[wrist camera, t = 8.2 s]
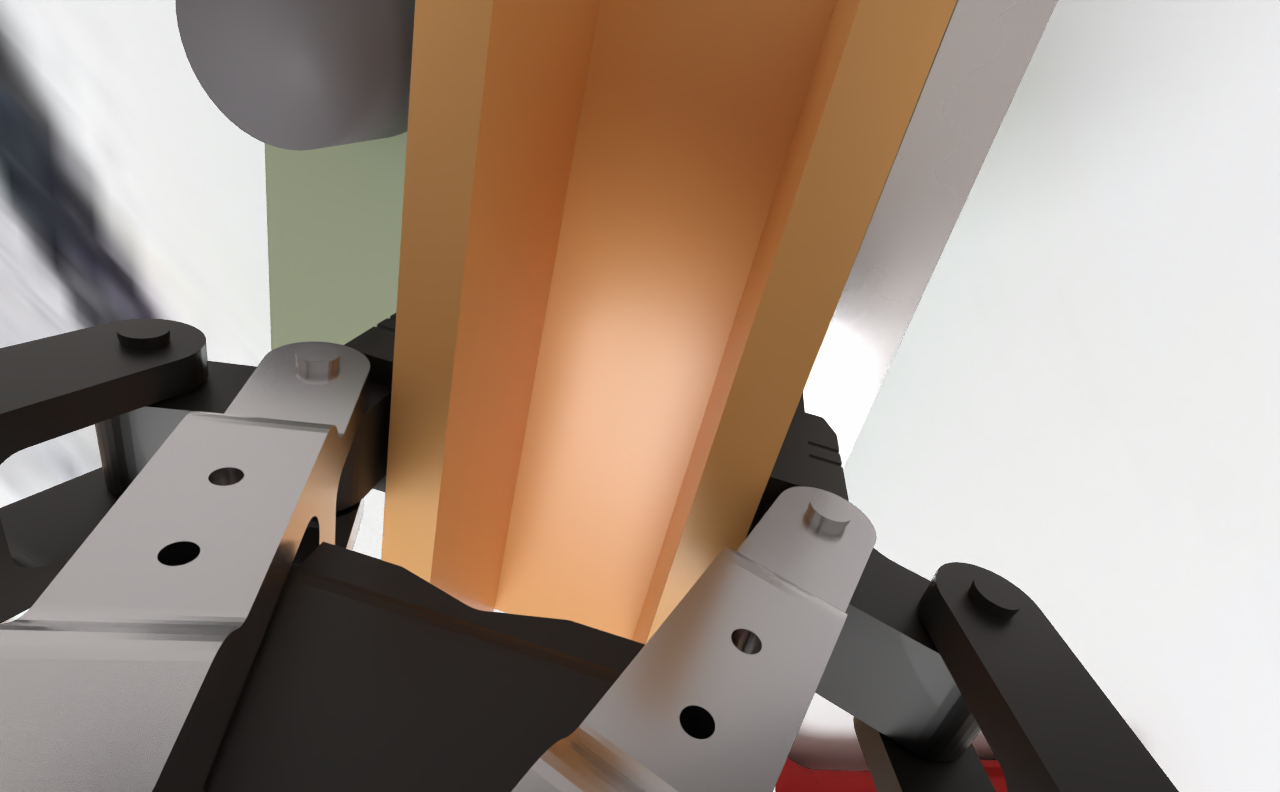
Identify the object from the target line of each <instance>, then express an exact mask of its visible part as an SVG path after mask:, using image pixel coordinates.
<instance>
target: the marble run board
mask: <svg viewBox="0 0 1280 792" xmlns="http://www.w3.org/2000/svg"><path fill="white" fill-rule="evenodd" d="M176 14H177V21H178V28H179V32H180V36H181V40H182V43H183V46H184V49H185V52H186V55H187V58H188V60H189V62H190V65H191V67H192V69H193V71H194V73H195V75H196V77H197V79H198V80H199V82H200V84H201V86H202V87H203V89H204V90H205V91H206V93H207V94H208V96H209V97H210V99H211V100H212V101H213V102H214V104H215V105H216V106H217V107H218V108H219V110H220V111H221V112H222V113H223V114H224V115H225V116H226V117H227V118H228V119H229V120H230V121H232V122H233V123H234V124H235V125H236V126H238V127H239V128H240V129H241V130H243V131H244V132H246V133H247V134H249V135H250V136H252V137H254V138H256V139H258V140H260V141H262V142H264V143H265V165H266V196H267V226H268V257H269V287H270V318H271V348H272V350H274V349H276V348H278V347H281V346H284V345H287V344H292V343H298V342H310V341H315V342H330V343H336V344H340V345H345V344H346V343H348V342H349V341H351V340H353V339H354V338H356V337H357V336H359V335H361V334H362V333H364V332H365V331H367V330H369V329H370V328H372V327H377V324H378V323H380V322H382V321H383V320H385V319H386V318H388V319H390V316H391V315H393V314H394V313H396V310H397V294H398V277H399V261H400V244H401V228H402V211H403V195H404V179H405V162H406V146H407V129H408V113H409V96H410V80H411V63H412V47H413V31H414V14H415V0H176Z"/></svg>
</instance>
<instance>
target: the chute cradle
mask: <svg viewBox="0 0 1280 792" xmlns="http://www.w3.org/2000/svg"><path fill="white" fill-rule="evenodd" d="M1057 1H1058V0H957V1H956V4H955V6H954V9H953V12H952V14H951V17H950V19H949V22H948V24H947V27H946V29H945V32H944V34H943V37H942V40H941V42H940V45H939V47H938V50H937V52H936V55H935V57H934V60H933V62H932V65H931V68H930V70H929V73H928V75H927V78H926V80H925V83H924V85H923V88H922V90H921V93H920V96H919V98H918V101H917V103H916V106H915V108H914V111H913V113H912V116H911V118H910V121H909V124H908V126H907V129H906V131H905V134H904V136H903V139H902V141H901V144H900V146H899V149H898V152H897V154H896V157H895V159H894V162H893V164H892V167H891V169H890V172H889V174H888V177H887V179H886V182H885V185H884V187H883V190H882V192H881V195H880V197H879V200H878V202H877V205H876V207H875V210H874V213H873V215H872V218H871V220H870V223H869V225H868V228H867V230H866V233H865V235H864V238H863V241H862V243H861V246H860V248H859V251H858V253H857V256H856V258H855V261H854V263H853V266H852V269H851V271H850V274H849V276H848V279H847V281H846V284H845V286H844V289H843V291H842V294H841V297H840V299H839V302H838V304H837V307H836V309H835V312H834V314H833V317H832V319H831V322H830V325H829V327H828V330H827V332H826V335H825V337H824V340H823V342H822V345H821V347H820V350H819V353H818V355H817V358H816V360H815V363H814V365H813V368H812V370H811V373H810V375H809V378H808V381H807V383H806V386H805V388H804V391H803V396H804V406H805V412H806V413H810V414H813V415H817V416H820V417H823V418H824V419H825V420H826V422H827V423H828V424H829V425H830V427H831V428H832V429H833V430H834V432H835V433H836V434H837V439H838V444H839V450H840V451H839V454H840V456H841V461H842V465H841V467H844V465H845V463H846V461H847V458H848V456H849V454H850V452H851V450H852V448H853V445H854V443H855V441H856V439H857V437H858V434H859V432H860V430H861V428H862V426H863V424H864V421H865V419H866V417H867V415H868V413H869V410H870V408H871V406H872V404H873V402H874V400H875V397H876V395H877V393H878V391H879V389H880V387H881V384H882V382H883V380H884V378H885V376H886V373H887V371H888V369H889V367H890V365H891V363H892V360H893V358H894V356H895V354H896V352H897V349H898V347H899V345H900V343H901V341H902V339H903V336H904V334H905V332H906V330H907V328H908V325H909V323H910V321H911V319H912V317H913V315H914V312H915V310H916V308H917V306H918V304H919V302H920V299H921V297H922V295H923V293H924V291H925V288H926V286H927V284H928V282H929V280H930V278H931V275H932V273H933V271H934V269H935V267H936V264H937V262H938V260H939V258H940V256H941V254H942V251H943V249H944V247H945V245H946V243H947V240H948V238H949V236H950V234H951V232H952V230H953V227H954V225H955V223H956V221H957V219H958V216H959V214H960V212H961V210H962V208H963V206H964V203H965V201H966V199H967V197H968V195H969V193H970V190H971V188H972V186H973V184H974V182H975V179H976V177H977V175H978V173H979V171H980V169H981V166H982V164H983V162H984V160H985V158H986V155H987V153H988V151H989V149H990V147H991V145H992V142H993V140H994V138H995V136H996V134H997V131H998V129H999V127H1000V125H1001V123H1002V121H1003V118H1004V116H1005V114H1006V112H1007V110H1008V107H1009V105H1010V103H1011V101H1012V99H1013V97H1014V94H1015V92H1016V90H1017V88H1018V86H1019V84H1020V81H1021V79H1022V77H1023V75H1024V73H1025V70H1026V68H1027V66H1028V64H1029V62H1030V60H1031V57H1032V55H1033V53H1034V51H1035V49H1036V46H1037V44H1038V42H1039V40H1040V38H1041V36H1042V33H1043V31H1044V29H1045V27H1046V25H1047V22H1048V20H1049V18H1050V16H1051V14H1052V12H1053V9H1054V7H1055V5H1056V3H1057Z"/></svg>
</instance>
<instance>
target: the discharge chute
mask: <svg viewBox="0 0 1280 792" xmlns="http://www.w3.org/2000/svg"><path fill="white" fill-rule="evenodd" d="M956 1H957V0H415V14H414V31H413V47H412V63H411V80H410V96H409V113H408V129H407V146H406V162H405V179H404V195H403V211H402V228H401V244H400V261H399V277H398V294H397V310H396V327H395V343H394V359H393V376H392V392H391V409H390V425H389V442H388V458H387V475H386V491H385V507H384V524H383V540H382V557H381V560H383V561H386V562H389V563H392V564H395V565H398V566H402V567H403V568H405V569H407V570H408V571H410V572H412V573H414V574H415V575H417V576H419V577H420V578H422V579H424V580H425V581H427V582H429V583H430V584H432V585H434V586H436V587H437V588H439V589H441V590H442V591H444V592H446V593H447V594H449V595H451V596H452V597H454V598H456V599H458V600H459V601H461V602H463V603H464V604H466V605H468V606H470V607H472V608H474V609H477V610H482V611H489V612H493V610H494V609H497V610H500V611H503V612H507V613H510V614H517V615H526V616H536V617H545V618H554V619H564V620H570V621H573V622H577V623H580V624H583V625H586V626H589V627H592V628H595V629H598V630H602V631H605V632H608V633H611V634H614V635H617V636H620V637H623V638H627V639H630V640H633V641H636V642H639V643H642V644H646V643H647V642H648V641H649V640H650V638H651V637H652V636H653V635H654V633H655V632H656V631H657V630H658V628H659V627H660V626H661V625H662V623H663V622H664V621H665V620H666V619H667V617H668V616H669V615H670V614H671V612H672V611H673V610H674V609H675V607H676V606H677V605H678V604H679V602H680V601H681V600H682V599H683V598H684V596H685V595H686V594H687V593H688V591H689V590H690V589H691V588H692V586H693V585H694V584H695V583H696V581H697V580H698V579H699V578H700V577H701V575H702V574H703V573H704V572H705V570H706V569H707V568H708V567H709V565H710V564H711V563H712V562H713V560H714V559H715V558H716V557H717V556H718V554H719V553H720V552H721V551H722V550H723V549H724V548H725V547H730V548H732V549H733V550H735V551H737V550H738V549H739V547H740V546H741V545H742V543H743V542H744V541H745V538H746V536H747V533H748V531H749V528H750V526H751V523H752V521H753V518H754V515H755V513H756V510H757V508H758V505H759V503H760V500H761V498H762V495H763V493H764V490H765V487H766V485H767V482H768V480H769V477H770V475H771V472H772V470H773V467H774V465H775V462H776V459H777V457H778V454H779V452H780V449H781V447H782V444H783V442H784V439H785V437H786V434H787V431H788V429H789V426H790V424H791V421H792V419H793V416H794V414H795V411H796V409H797V406H798V403H799V401H800V398H801V396H802V393H803V391H804V388H805V386H806V383H807V381H808V378H809V375H810V373H811V370H812V368H813V365H814V363H815V360H816V358H817V355H818V353H819V350H820V347H821V345H822V342H823V340H824V337H825V335H826V332H827V330H828V327H829V325H830V322H831V319H832V317H833V314H834V312H835V309H836V307H837V304H838V302H839V299H840V297H841V294H842V291H843V289H844V286H845V284H846V281H847V279H848V276H849V274H850V271H851V269H852V266H853V263H854V261H855V258H856V256H857V253H858V251H859V248H860V246H861V243H862V241H863V238H864V235H865V233H866V230H867V228H868V225H869V223H870V220H871V218H872V215H873V213H874V210H875V207H876V205H877V202H878V200H879V197H880V195H881V192H882V190H883V187H884V185H885V182H886V179H887V177H888V174H889V172H890V169H891V167H892V164H893V162H894V159H895V157H896V154H897V152H898V149H899V146H900V144H901V141H902V139H903V136H904V134H905V131H906V129H907V126H908V124H909V121H910V118H911V116H912V113H913V111H914V108H915V106H916V103H917V101H918V98H919V96H920V93H921V90H922V88H923V85H924V83H925V80H926V78H927V75H928V73H929V70H930V68H931V65H932V62H933V60H934V57H935V55H936V52H937V50H938V47H939V45H940V42H941V40H942V37H943V34H944V32H945V29H946V27H947V24H948V22H949V19H950V17H951V14H952V12H953V9H954V6H955V4H956Z"/></svg>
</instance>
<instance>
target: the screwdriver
mask: <svg viewBox="0 0 1280 792" xmlns="http://www.w3.org/2000/svg"><path fill="white" fill-rule="evenodd" d="M980 761H981V763H982V765H983V767H984V769H985V771H986V773H987V775H988V777H989V779H990V780H991V782H992V784H993V786H994V788H995V790H996V792H1007V786H1006V781H1005V777H1004V774H1003V771H1002V768H1001V766H1000V764H999V762H998V760H980ZM775 790H776V792H877V790H876V787H875V785H874V782H873V779H872V776H871V774H870V771H846V770H812V769H809V768H806V767H802V766H800V765H798V764H797V763H795V762H794V761H792V760H790V759H789V758H787V759H786V762H785V764H784V766H783V769H782V771H781V773H780V776H779V778H778V780H777V783H776V785H775Z"/></svg>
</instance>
